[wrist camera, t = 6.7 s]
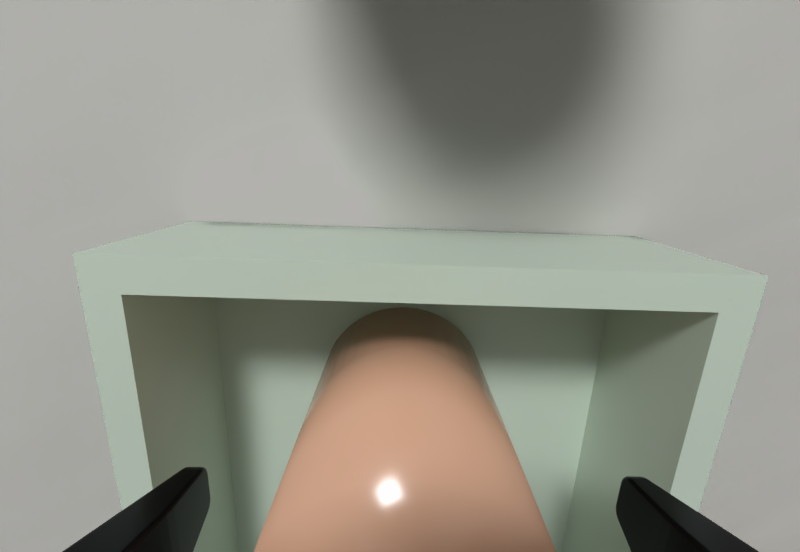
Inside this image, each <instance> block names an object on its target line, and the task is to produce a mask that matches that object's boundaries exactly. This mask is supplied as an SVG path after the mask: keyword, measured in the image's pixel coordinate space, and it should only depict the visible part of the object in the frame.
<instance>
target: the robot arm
mask: <svg viewBox="0 0 800 552" xmlns="http://www.w3.org/2000/svg"><path fill="white" fill-rule="evenodd" d="M209 507H210V489H209V480H208V473H207V470H206V468H204V467H185V468H183V469H182V470H180V471H179V472H177V473H176V474H174V475H173V476H171V477H170V478H169V479H167V480H166V481H164V482H163V483H161V484H160V485H158V486H157V487H155V488H154V489H153V490H151V491H150V492H148V493H147V494H145V495H144V496H142V497H141V498H140V499H138V500H137V501H135V502H134V503H132V504H131V505H129V506H128V507H127V508H125V509H124V510H122V511H121V512H119V513H118V514H116V515H115V516H113V517H112V518H111V519H109V520H108V521H106V522H105V523H103V524H102V525H100V526H99V527H98V528H96V529H95V530H93V531H92V532H90V533H89V534H87V535H86V536H84V537H83V538H82V539H80V540H79V541H77V542H76V543H74V544H73V545H71V546H70V547H69V548H67V549H66V550H64V551H63V552H193V551H194V548H195V545H196V543H197V540H198V537H199V535H200V532H201V529H202V527H203V524H204V521H205V519H206V516H207V513H208V510H209ZM616 515H617V518H618V521H619V523H620V526H621V528H622V531H623V533H624V536H625V538H626V540H627V543H628V545H629V548H630V550H631V552H758V551H757V550H755V549H754V548H752V547H751V546H749V545H748V544H746V543H745V542H743V541H742V540H740V539H739V538H737V537H735V536H734V535H732V534H731V533H729V532H728V531H726V530H725V529H723V528H722V527H720V526H719V525H717V524H716V523H714V522H712V521H711V520H709V519H708V518H706V517H705V516H703V515H702V514H700V513H699V512H697V511H696V510H694V509H693V508H691V507H690V506H688V505H686V504H685V503H683V502H682V501H680V500H679V499H677V498H676V497H674V496H673V495H671V494H670V493H668V492H667V491H665V490H663V489H662V488H660V487H659V486H657V485H656V484H654V483H653V482H651V481H650V480H648V479H646V478H644V477H640V476H626V477H624V478H623V479H622V481H621V485H620V489H619V494H618V498H617V503H616Z"/></svg>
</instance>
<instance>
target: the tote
mask: <svg viewBox="0 0 800 552" xmlns="http://www.w3.org/2000/svg"><path fill="white" fill-rule="evenodd" d="M72 255H73V260H74V265H75V270H76V275H77V281H78V286H79V291H80V296H81V301H82V307H83V312H84V317H85V322H86V327H87V333H88V338H89V343H90V348H91V354H92V359H93V364H94V369H95V374H96V380H97V385H98V390H99V395H100V400H101V406H102V411H103V416H104V421H105V426H106V432H107V437H108V442H109V447H110V452H111V458H112V463H113V468H114V473H115V479H116V484H117V489H118V494H119V499H120V505H121V510H124V509H125V508H127V507H128V506H129V505H131V504H132V503H134V502H135V501H137V500H138V499H140V498H141V497H142V496H144V495H145V494H147V493H148V492H150V491H151V490H153V489H154V488H155V487H157V486H158V485H160V484H161V483H163V482H164V481H166V480H167V479H169V478H170V477H171V476H173V475H174V474H176V473H177V472H179V471H180V470H182V469H183V468H185V467H204V468H206V470H207V473H208V480H209V489H210V507H209V510H208V513H207V516H206V519H205V521H204V524H203V527H202V529H201V532H200V535H199V537H198V540H197V543H196V545H195V548H194V551H193V552H254V550H255V547H256V544H257V542H258V539H259V536H260V534H261V531H262V529H263V526H264V523H265V521H266V518H267V516H268V513H269V510H270V508H271V505H272V502H273V500H274V497H275V495H276V492H277V489H278V487H279V484H280V482H281V479H282V476H283V474H284V471H285V468H286V466H287V463H288V461H289V458H290V455H291V453H292V450H293V448H294V445H295V442H296V440H297V437H298V434H299V432H300V429H301V427H302V424H303V421H304V419H305V416H306V414H307V411H308V408H309V406H310V403H311V400H312V398H313V395H314V393H315V390H316V387H317V385H318V382H319V380H320V377H321V374H322V372H323V369H324V366H325V364H326V361H327V359H328V356H329V354H330V351H331V349H332V347H333V345H334V344H335V342H336V340H337V339H338V338H339V337H340V335H341V334H342V333H343V332H344V331H345V330H346V329H347V328H348V327H349V326H350V325H352V324H353V323H354V322H356V321H357V320H359V319H361V318H362V317H364V316H366V315H369V314H371V313H373V312H376V311H380V310H384V309H389V308H401V307H408V308H416V309H421V310H425V311H429V312H431V313H434V314H437V315H439V316H441V317H443V318H444V319H446V320H448V321H449V322H451V323H452V324H453V325H455V326H456V327H457V328H458V329H459V330H460V331H461V332H462V333H463V334H464V335H465V336H466V338H467V339H468V340H469V342H470V344H471V345H472V347H473V349H474V351H475V354H476V356H477V358H478V361H479V363H480V366H481V368H482V371H483V373H484V376H485V378H486V381H487V383H488V386H489V388H490V390H491V393H492V395H493V398H494V400H495V403H496V405H497V408H498V410H499V413H500V415H501V417H502V420H503V422H504V425H505V427H506V430H507V432H508V435H509V437H510V440H511V442H512V444H513V447H514V449H515V452H516V454H517V457H518V459H519V462H520V464H521V467H522V469H523V471H524V474H525V476H526V479H527V481H528V484H529V486H530V489H531V491H532V494H533V496H534V498H535V501H536V503H537V506H538V508H539V511H540V513H541V516H542V518H543V521H544V523H545V525H546V528H547V530H548V533H549V535H550V538H551V540H552V543H553V545H554V548H555V550H556V552H631V550H630V548H629V545H628V543H627V540H626V538H625V536H624V533H623V531H622V528H621V526H620V523H619V521H618V518H617V515H616V503H617V498H618V494H619V489H620V485H621V481H622V479H623V478H624V477H626V476H640V477H644V478H646V479H648V480H650V481H651V482H653V483H654V484H656V485H657V486H659V487H660V488H662V489H663V490H665V491H667V492H668V493H670V494H671V495H673V496H674V497H676V498H677V499H679V500H680V501H682V502H683V503H685V504H686V505H688V506H690V507H691V508H693V509H694V510H696V511H697V512H698V511H699V507H700V504H701V501H702V497H703V494H704V491H705V487H706V484H707V481H708V477H709V474H710V471H711V467H712V464H713V461H714V457H715V454H716V451H717V447H718V444H719V441H720V437H721V434H722V431H723V427H724V424H725V421H726V417H727V414H728V411H729V407H730V404H731V401H732V397H733V394H734V391H735V387H736V384H737V380H738V377H739V374H740V370H741V367H742V364H743V360H744V357H745V354H746V350H747V347H748V344H749V340H750V337H751V334H752V330H753V327H754V324H755V320H756V317H757V314H758V310H759V307H760V304H761V300H762V297H763V294H764V290H765V287H766V284H767V280H768V277H769V276H767V275H763V274H760V273H757V272H753V271H750V270H747V269H743V268H740V267H736V266H733V265H730V264H726V263H723V262H720V261H716V260H713V259H709V258H706V257H703V256H699V255H696V254H693V253H689V252H686V251H682V250H679V249H676V248H672V247H669V246H666V245H662V244H659V243H656V242H652V241H649V240H645V239H642V238H639V237H632V236H602V235H573V234H544V233H515V232H485V231H456V230H427V229H398V228H368V227H339V226H310V225H280V224H251V223H222V222H193V221H190V222H186V223H182V224H179V225H175V226H171V227H168V228H164V229H160V230H157V231H153V232H150V233H146V234H142V235H139V236H135V237H131V238H128V239H124V240H120V241H117V242H113V243H109V244H106V245H102V246H98V247H95V248H91V249H87V250H84V251H80V252H76V253H73V254H72Z"/></svg>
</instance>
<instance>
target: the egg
mask: <svg viewBox="0 0 800 552" xmlns="http://www.w3.org/2000/svg"><path fill="white" fill-rule="evenodd" d="M254 552H556V550H555V548H554V545H553V543H552V540H551V538H550V535H549V533H548V530H547V528H546V525H545V523H544V521H543V518H542V516H541V513H540V511H539V508H538V506H537V503H536V501H535V498H534V496H533V494H532V491H531V489H530V486H529V484H528V481H527V479H526V476H525V474H524V471H523V469H522V467H521V464H520V462H519V459H518V457H517V454H516V452H515V449H514V447H513V444H512V442H511V440H510V437H509V435H508V432H507V430H506V427H505V425H504V422H503V420H502V417H501V415H500V413H499V410H498V408H497V405H496V403H495V400H494V398H493V395H492V393H491V390H490V388H489V386H488V383H487V381H486V378H485V376H484V373H483V371H482V368H481V366H480V363H479V361H478V358H477V356H476V354H475V351H474V349H473V347H472V345H471V344H470V342H469V340H468V339H467V338H466V336H465V335H464V334H463V333H462V332H461V331H460V330H459V329H458V328H457V327H456V326H455V325H453V324H452V323H451V322H449V321H448V320H446V319H444V318H443V317H441V316H439V315H437V314H434V313H431V312H429V311H425V310H421V309H416V308H408V307H401V308H389V309H384V310H380V311H376V312H373V313H371V314H369V315H366V316H364V317H362V318H361V319H359V320H357V321H356V322H354V323H353V324H352V325H350V326H349V327H348V328H347V329H346V330H345V331H344V332H343V333H342V334H341V335H340V337H339V338H338V339H337V340H336V342H335V344H334V345H333V347H332V349H331V351H330V354H329V356H328V359H327V361H326V364H325V366H324V369H323V372H322V374H321V377H320V380H319V382H318V385H317V387H316V390H315V393H314V395H313V398H312V400H311V403H310V406H309V408H308V411H307V414H306V416H305V419H304V421H303V424H302V427H301V429H300V432H299V434H298V437H297V440H296V442H295V445H294V448H293V450H292V453H291V455H290V458H289V461H288V463H287V466H286V468H285V471H284V474H283V476H282V479H281V482H280V484H279V487H278V489H277V492H276V495H275V497H274V500H273V502H272V505H271V508H270V510H269V513H268V516H267V518H266V521H265V523H264V526H263V529H262V531H261V534H260V536H259V539H258V542H257V544H256V547H255V550H254Z"/></svg>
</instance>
